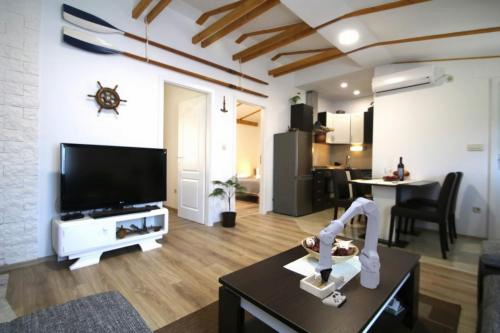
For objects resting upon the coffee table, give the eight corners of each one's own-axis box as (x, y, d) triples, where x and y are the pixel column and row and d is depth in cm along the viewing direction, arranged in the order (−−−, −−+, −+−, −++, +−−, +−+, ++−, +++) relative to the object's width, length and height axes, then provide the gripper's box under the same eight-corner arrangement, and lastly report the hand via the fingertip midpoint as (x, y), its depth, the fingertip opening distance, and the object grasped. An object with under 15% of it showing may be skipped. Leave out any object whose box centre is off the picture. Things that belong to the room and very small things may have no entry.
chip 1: (315, 286, 113) (315, 281, 113) (322, 289, 110) (322, 284, 110) (310, 289, 110) (310, 284, 110) (317, 293, 107) (317, 287, 107)
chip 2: (319, 283, 115) (319, 278, 115) (327, 286, 112) (327, 281, 112) (315, 286, 113) (315, 281, 113) (322, 289, 110) (322, 284, 110)
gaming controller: (331, 291, 109) (342, 285, 105) (340, 305, 106) (351, 299, 102) (319, 302, 100) (331, 295, 97) (329, 317, 98) (341, 310, 94)
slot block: (325, 275, 126) (325, 269, 126) (346, 284, 117) (346, 278, 117) (313, 281, 119) (313, 275, 119) (335, 292, 110) (335, 285, 110)
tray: (313, 282, 119) (313, 273, 119) (334, 292, 110) (335, 283, 109) (300, 289, 112) (300, 280, 111) (321, 301, 102) (322, 291, 102)
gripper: (326, 249, 122) (325, 274, 122) (310, 256, 113) (309, 283, 113) (338, 253, 117) (338, 280, 117) (322, 261, 107) (322, 290, 108)
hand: (324, 282), depth 115 cm, fingers closed
